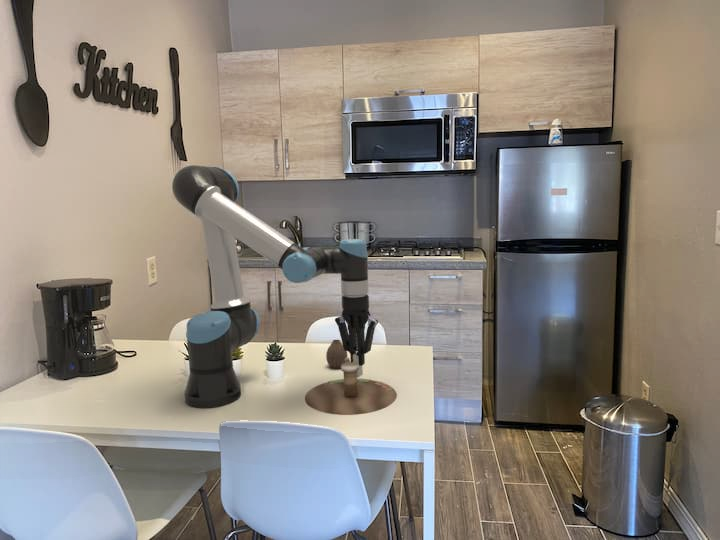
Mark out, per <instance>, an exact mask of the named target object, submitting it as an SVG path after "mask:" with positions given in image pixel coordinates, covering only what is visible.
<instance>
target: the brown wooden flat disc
mask: <svg viewBox="0 0 720 540" xmlns="http://www.w3.org/2000/svg"><path fill="white" fill-rule="evenodd" d="M397 394H398V393H397V391H396V390H395V388H394V387H392V386H391V385H389V384H388V383H385V382H383V381H378V380H372V379H370V378H369V379H368V378H357V395H356V396H353V397H347V396H345V395H344V378H343V379H342V378H341V379H335V380H330V381H327V382H324V383H321V384H318V385H316V386H314V387H313V388H312V387H311V389H310V390H308V391H307V392H306V394H305V396H304V401H305V403H306V405H308V407H310V408H311V409H313V410H316V411H317V412H320V413H325V414H329V415H339V416H354V415H357V416H358V415H364V414H370V413H374V412H379V411H381V410H383V409H386V408H387V407H389V406H392V404H393V403H394V402H395V401H396V399H397V397H398V395H397Z"/></svg>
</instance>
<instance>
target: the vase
mask: <svg viewBox="0 0 720 540" xmlns="http://www.w3.org/2000/svg"><path fill="white" fill-rule="evenodd" d="M345 358H348V351H345V350H344V348H343V344H342V341H341V339H332V342H331V344H330V345H329V346H328V348H327V351H326V362H327V364H328V366H329V367H331V368H333V369H341V365H342V364H343V363H345Z"/></svg>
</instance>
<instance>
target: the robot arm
mask: <svg viewBox="0 0 720 540" xmlns="http://www.w3.org/2000/svg"><path fill="white" fill-rule="evenodd" d="M171 185H172V186H171V188H172V193H173V195H174V198H175V199H176V201H177V202H178V203H179V204H180V205H181V206H183V208H185V209H186V210H187V211H189V212H190V213H192V214H193V215H195V217H196V218H198V219H199V220H200V221H201V225H202V231H203V235H204V241H205V248H206V254H207V260H208V266H209V267H208V268H209V271H210V278H211V279H210V280H211V285H212V286H211V287H212V290H213V291H212V292H213V298H214V300H213V303H212V304H211V305H210V311H205V312H204V313H202V312H201V313H198V314H196V315H193V316H192V317H191V318H189V320H187V323H186V332H185V337H186V342H187V352H188V353H187V354H188V365H189V367H188V368H189V375H188V380H187V382H186V383H187V384H186V388H185V391H184V401H185V403H186V405H187V406H190V407H194V408H202V409H203V408H215V407H221V406H224V405H228V404H230V403H233V402H235V401H236V400H238V399H239V398H240V397H241V396H242V389H241V387H242V386H241V384H240V381H239V379H238V377H237V374H236V372H235V370H234V362H233V360H234V359H233V352H234V351H236V350H238V349H239V348H241V347H243V346H246V345H247V344H248V343H250V342H251V341H252V340H253V339H254V338H255V337H256V336H257V334H258V332H259V330H260V317H259V315H258V313H257V311H256V310H254V309H253V307H252V306H251V301H250V299H248V298H247V297H246V296H245V295H244V289H243V282H242V276H241V269H240V262H239V258H238V257H239V255H238V249H237V245H236V239H237V240H238V241H240V242H242V244H244V245H246V247H248V248H250V249H252V251H255V253H258V254H259V255H260V256H262V257H264V259H267V261H269V262H271V264H274V265H275V266H277V267H278V268H280V269H281V270H282V273H283V275H284V277H285V278H286V279H287V280H288V281H289V282H291V283H294V284H301V283H306V282H310V281H311V280H312V279H313V278H316V277H318V276H321V275H324V274H325V275H328V274H329V275H330V274H333V275H334V274H340V281H341V282H340V283H341V287H340V288H341V294H342V296H341V307H342V309H343V310H342V312H341V315H340V316H338V317H335V319H334V321H335V323H336V324H337V327H338V331H339V335H340V338H341V339H340V341H341V343H342V345H343V348H344V350H345V351H347V353H349V355H350V357H349V358H350V362H354V363H358V364H359V370H358V371H357V378H360V377H361V376H363V375H364V374H363V372H364V370H363V366H364V365H365V364H366V363H365V362H366V361H365V360H366V358H365V357H366V356H365V355H366V354H367V353H369V352H371V350H372V345H373V340H374V336H375V330H376V327H377V325H378V323H379V320H378V319H375V318H373V317H372V316H371V313H370V296H369V274H368V273H369V271H368V270H369V269H368V268H369V267H368V263H369V262H368V260H369V259H368V256H369V254H368V247H367V242H366V240H365V239H362V238H352V239H351V238H350V239H349V238H348V239H341V240H339V246H334V247H333V246H331V247H329V246H326V247H325V246H307V247H301V246H300V245H298V244H297V243H295V242H294V241H293V240H291V239H290V238H288V237H287V236H285V235H284V234H282V233H281V232H280V231H278V230H276V229H274V228H273V227H272V226H270V225H269V224H267V223H266V222H264V221H263V220H262V219H260V218H258V217H257V216H255V215H254V214H252V213H251V212H250V211H248V210H246V209H245V208H243V206H241V205H239V204H238V203H236V202H237V199H238V198H239V194H240V185H239V183H238V181H237V179H236V176H234V174H232V173H231V172H230V171H229V170H227V169H224V168H221V167H217V166H206V165H205V166H202V165H188V166H184V167H183V168H180V170H178V172H177V173H176V174H175V175H174V177H173V180H172V183H171ZM366 325H367V328H366ZM365 330H366V333H365Z"/></svg>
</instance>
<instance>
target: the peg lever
mask: <svg viewBox="0 0 720 540" xmlns="http://www.w3.org/2000/svg"><path fill="white" fill-rule="evenodd" d="M340 369H341V372H343V379H344V395H345V396H347V397H353V396H356V395H357V379H358V377H357V371H358V370H359V364H358V363H354V362H351V359H350V357H347V358H345V363H343V364H342V365H341V368H340Z"/></svg>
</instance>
